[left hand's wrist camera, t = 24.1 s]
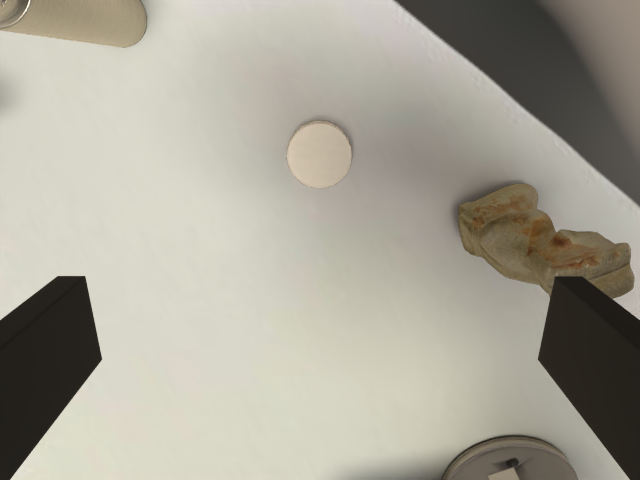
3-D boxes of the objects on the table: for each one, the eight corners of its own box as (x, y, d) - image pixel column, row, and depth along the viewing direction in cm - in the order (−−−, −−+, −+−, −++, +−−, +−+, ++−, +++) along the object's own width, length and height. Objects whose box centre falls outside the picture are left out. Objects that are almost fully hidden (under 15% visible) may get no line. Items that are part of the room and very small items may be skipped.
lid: (279, 130, 38) (276, 134, 35) (341, 111, 37) (342, 113, 35) (299, 190, 39) (297, 197, 37) (358, 172, 39) (360, 178, 37)
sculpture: (534, 231, 41) (647, 314, 27) (455, 251, 41) (526, 342, 27) (527, 170, 39) (646, 225, 25) (445, 191, 39) (515, 257, 25)
